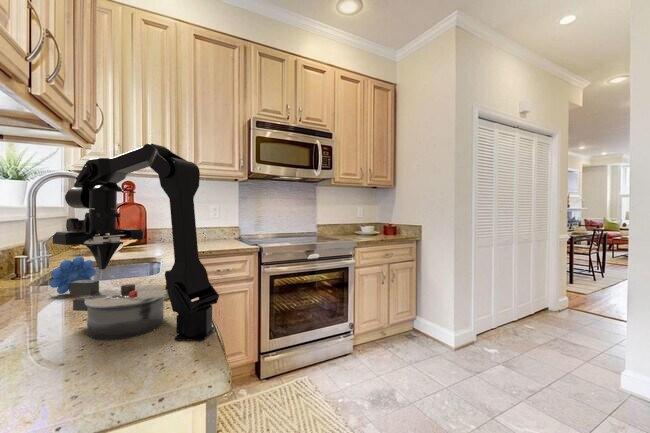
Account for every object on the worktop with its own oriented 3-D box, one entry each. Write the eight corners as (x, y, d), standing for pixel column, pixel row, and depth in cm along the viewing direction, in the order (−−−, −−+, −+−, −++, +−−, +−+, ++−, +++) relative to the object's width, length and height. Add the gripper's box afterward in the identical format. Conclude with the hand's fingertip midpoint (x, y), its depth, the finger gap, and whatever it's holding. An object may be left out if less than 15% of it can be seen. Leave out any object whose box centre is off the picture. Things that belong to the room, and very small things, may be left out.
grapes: (95, 287, 104) (96, 254, 103) (96, 292, 98) (96, 256, 98) (50, 293, 96) (51, 256, 96) (48, 297, 91) (49, 259, 91)
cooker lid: (178, 289, 78) (178, 276, 78) (139, 309, 62) (139, 292, 62) (100, 287, 78) (100, 274, 78) (41, 306, 62) (41, 290, 62)
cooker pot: (175, 316, 77) (175, 291, 77) (137, 341, 62) (138, 309, 62) (102, 314, 78) (103, 289, 78) (48, 338, 63) (48, 307, 63)
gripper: (118, 209, 87) (118, 261, 88) (39, 207, 70) (38, 272, 70) (145, 210, 83) (144, 264, 84) (67, 208, 66) (66, 277, 66)
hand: (102, 269), depth 76 cm, fingers closed
